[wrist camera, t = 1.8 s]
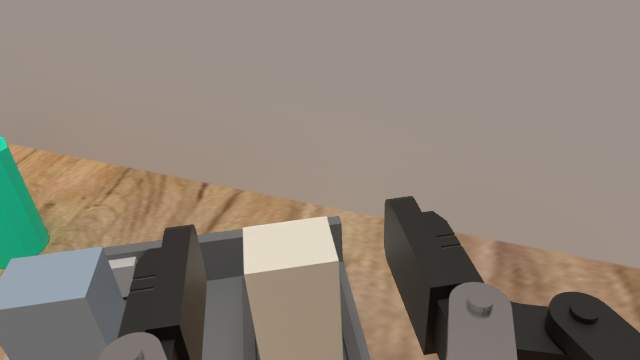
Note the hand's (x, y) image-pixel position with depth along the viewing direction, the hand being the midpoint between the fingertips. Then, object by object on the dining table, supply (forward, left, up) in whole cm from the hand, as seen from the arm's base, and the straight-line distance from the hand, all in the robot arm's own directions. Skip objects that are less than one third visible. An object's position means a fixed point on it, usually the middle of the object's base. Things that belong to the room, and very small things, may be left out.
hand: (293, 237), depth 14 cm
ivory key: (-2, -10, -19) cm, 22 cm away
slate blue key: (+11, -12, -19) cm, 25 cm away
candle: (+20, -33, -20) cm, 43 cm away
